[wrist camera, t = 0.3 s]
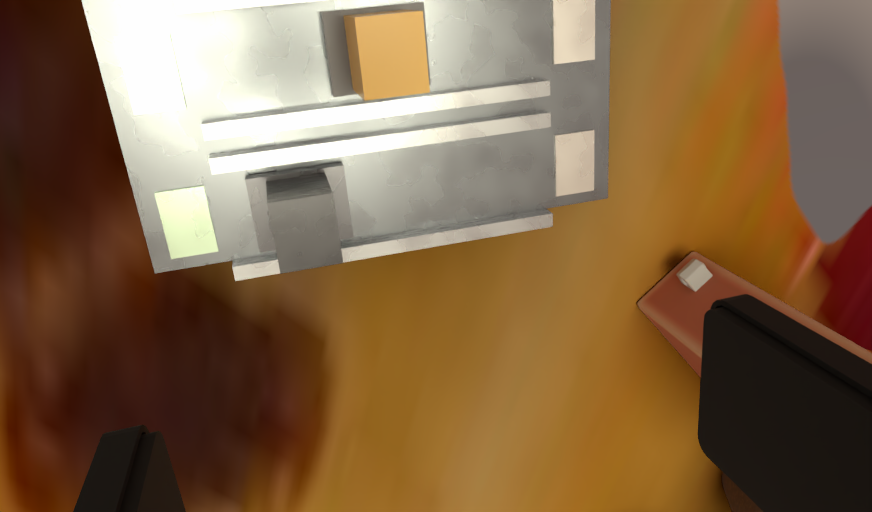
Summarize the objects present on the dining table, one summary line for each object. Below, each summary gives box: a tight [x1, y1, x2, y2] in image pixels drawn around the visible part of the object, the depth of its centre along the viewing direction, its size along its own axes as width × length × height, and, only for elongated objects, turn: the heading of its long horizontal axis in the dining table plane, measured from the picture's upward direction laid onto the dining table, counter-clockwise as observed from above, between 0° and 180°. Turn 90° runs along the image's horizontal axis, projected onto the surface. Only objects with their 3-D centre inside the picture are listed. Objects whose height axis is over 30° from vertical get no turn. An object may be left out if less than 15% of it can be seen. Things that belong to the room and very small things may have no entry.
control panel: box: [637, 251, 872, 378], centre depth 38 cm, size 21×7×15 cm
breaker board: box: [82, 0, 611, 281], centre depth 32 cm, size 22×26×7 cm
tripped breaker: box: [321, 2, 431, 101], centre depth 31 cm, size 4×5×5 cm
